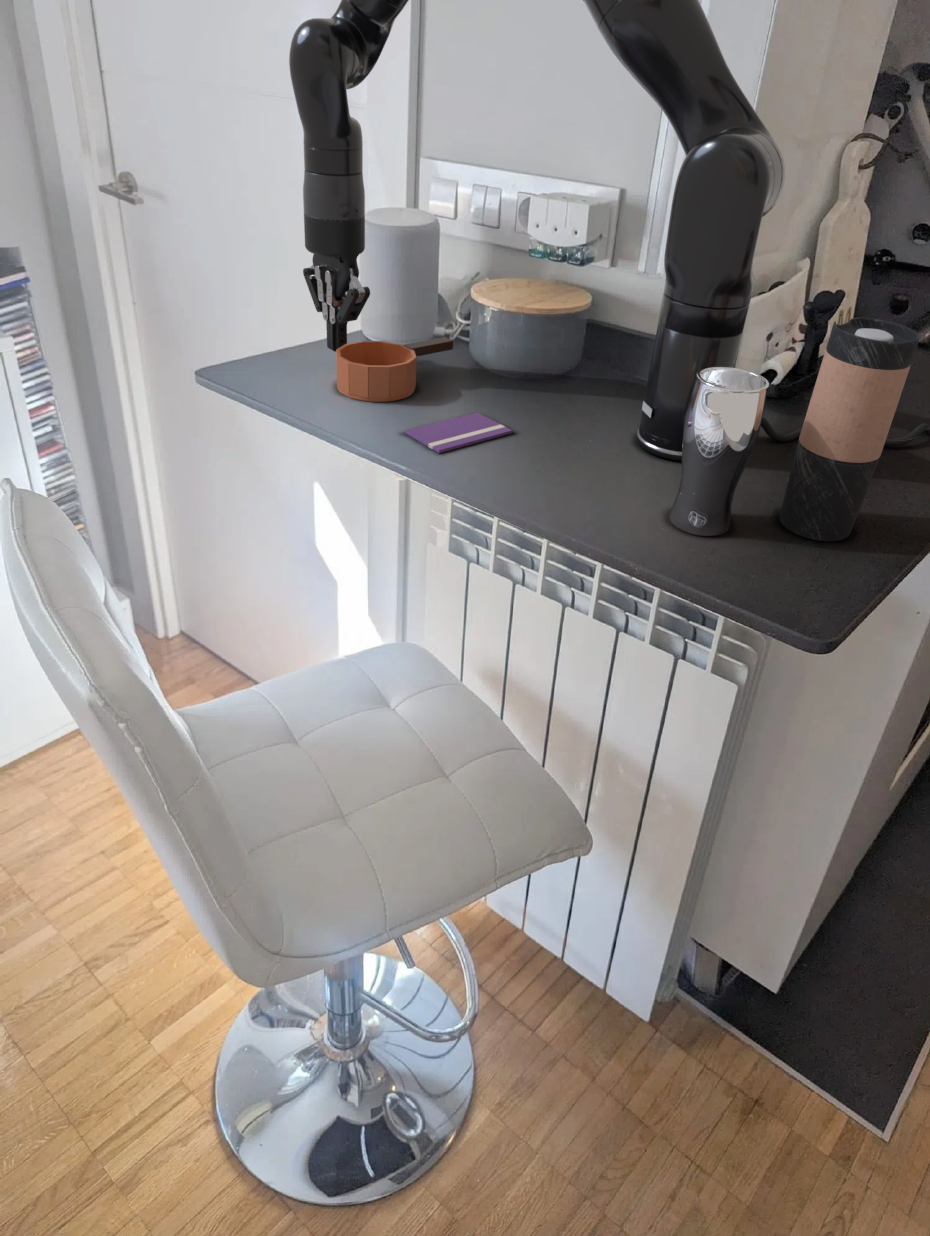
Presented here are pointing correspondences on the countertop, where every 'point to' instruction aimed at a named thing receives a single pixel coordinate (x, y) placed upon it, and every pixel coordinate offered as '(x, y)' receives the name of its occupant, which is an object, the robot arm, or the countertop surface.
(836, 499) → the travel mug
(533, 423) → the countertop surface
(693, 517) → the beer glass
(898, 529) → the countertop surface
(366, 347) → the pan
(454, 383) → the countertop surface
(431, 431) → the towel
